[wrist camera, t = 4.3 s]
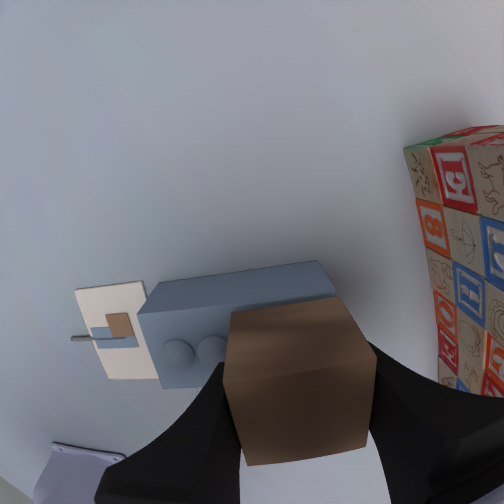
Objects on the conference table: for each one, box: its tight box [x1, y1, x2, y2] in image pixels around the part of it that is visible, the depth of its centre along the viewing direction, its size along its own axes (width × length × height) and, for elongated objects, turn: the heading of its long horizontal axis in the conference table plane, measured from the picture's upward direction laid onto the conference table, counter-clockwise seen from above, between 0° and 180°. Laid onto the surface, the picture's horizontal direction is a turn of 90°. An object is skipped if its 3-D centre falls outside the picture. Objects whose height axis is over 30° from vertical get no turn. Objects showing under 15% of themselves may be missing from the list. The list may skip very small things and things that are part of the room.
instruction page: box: [71, 281, 159, 379], centre depth 18 cm, size 7×7×1 cm
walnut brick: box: [223, 296, 377, 466], centre depth 11 cm, size 4×4×4 cm
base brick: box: [136, 260, 336, 389], centre depth 16 cm, size 9×4×4 cm, turn 99°
